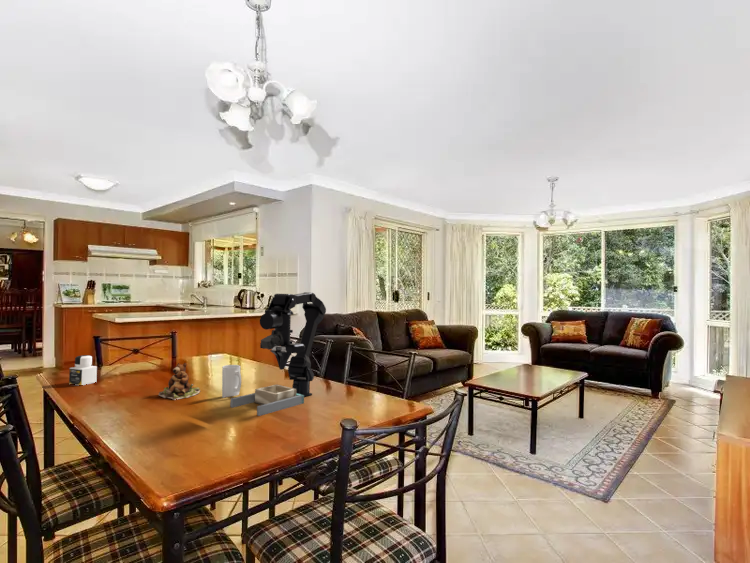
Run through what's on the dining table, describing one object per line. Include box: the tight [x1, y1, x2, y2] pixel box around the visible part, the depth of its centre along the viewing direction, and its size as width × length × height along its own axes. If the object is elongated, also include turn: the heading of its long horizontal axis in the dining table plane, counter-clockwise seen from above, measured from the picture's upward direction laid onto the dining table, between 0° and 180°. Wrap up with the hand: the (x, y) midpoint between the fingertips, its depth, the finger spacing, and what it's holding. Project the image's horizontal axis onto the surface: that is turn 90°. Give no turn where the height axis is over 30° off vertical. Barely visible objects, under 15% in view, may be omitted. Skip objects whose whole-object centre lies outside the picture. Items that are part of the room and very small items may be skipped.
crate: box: [254, 384, 296, 406], centre depth 152 cm, size 10×11×5 cm
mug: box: [221, 364, 242, 399], centre depth 162 cm, size 10×7×12 cm, turn 50°
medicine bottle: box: [68, 354, 98, 386], centre depth 180 cm, size 7×7×12 cm
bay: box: [229, 392, 305, 417], centre depth 149 cm, size 20×16×4 cm
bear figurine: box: [158, 362, 201, 401], centre depth 165 cm, size 14×15×12 cm
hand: (281, 369), depth 154 cm, fingers closed
